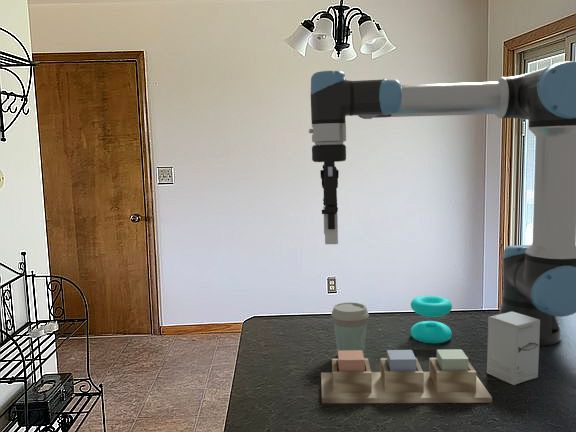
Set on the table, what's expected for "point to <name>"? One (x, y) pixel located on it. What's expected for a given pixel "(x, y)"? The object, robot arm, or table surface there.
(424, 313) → the donuts
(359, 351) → the terracotta button
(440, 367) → the sage button
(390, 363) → the slate button
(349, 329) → the coffee cup
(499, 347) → the supplement box
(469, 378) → the button panel
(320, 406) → the table surface
